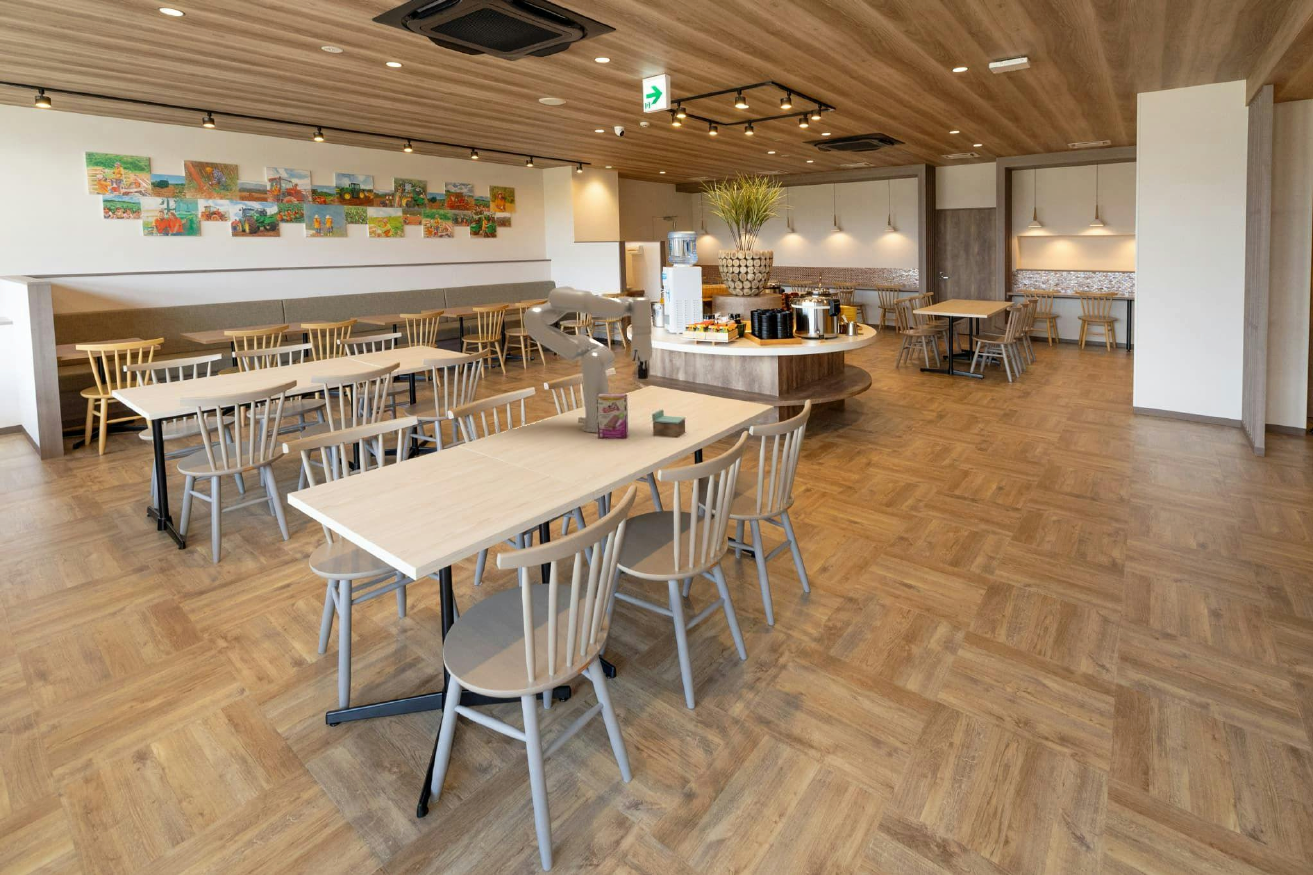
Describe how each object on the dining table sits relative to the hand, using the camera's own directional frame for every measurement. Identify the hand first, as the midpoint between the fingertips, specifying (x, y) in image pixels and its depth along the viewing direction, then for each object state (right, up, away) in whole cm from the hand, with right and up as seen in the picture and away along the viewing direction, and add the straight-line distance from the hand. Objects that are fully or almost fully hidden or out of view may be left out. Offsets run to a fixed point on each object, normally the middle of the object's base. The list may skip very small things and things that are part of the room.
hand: (643, 378), depth 281 cm
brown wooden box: (+10, -21, +1) cm, 24 cm away
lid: (+10, -16, 0) cm, 19 cm away
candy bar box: (-11, -23, -1) cm, 25 cm away
